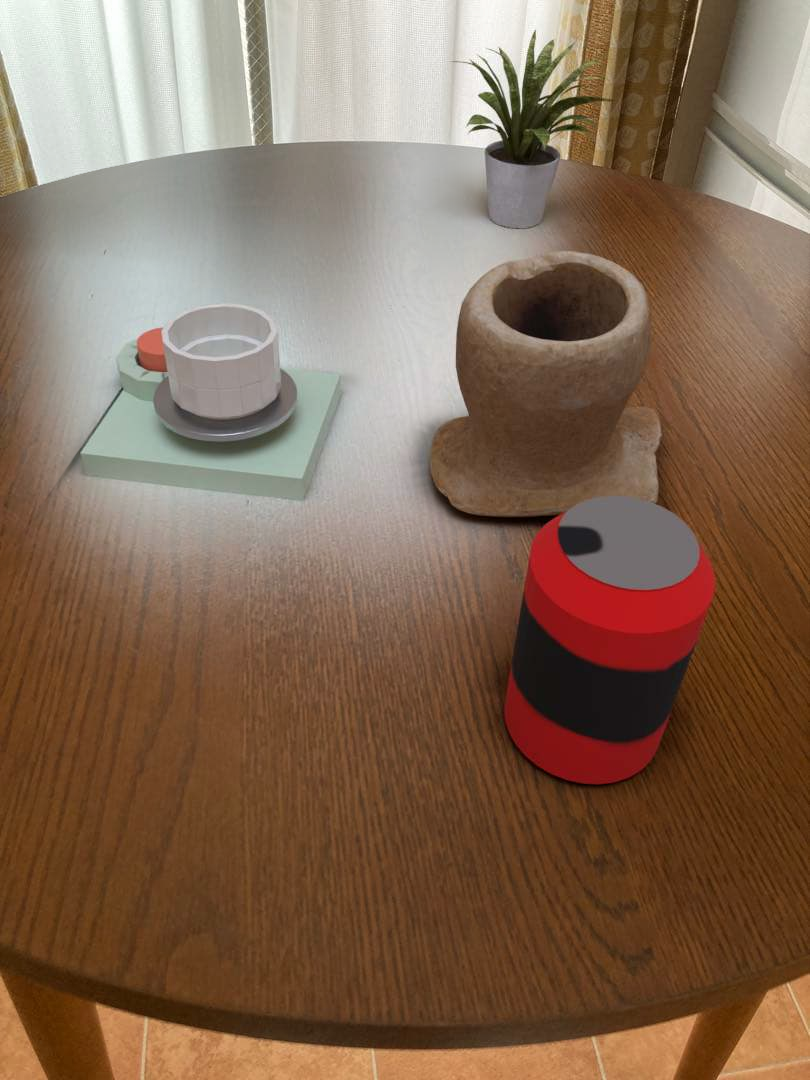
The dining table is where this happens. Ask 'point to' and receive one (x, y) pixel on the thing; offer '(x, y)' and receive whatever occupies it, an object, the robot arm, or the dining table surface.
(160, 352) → the tare button
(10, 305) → the dining table surface
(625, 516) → the soda can
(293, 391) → the plate
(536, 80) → the house plant
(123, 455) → the scale
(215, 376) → the bowl
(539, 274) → the stone cup
